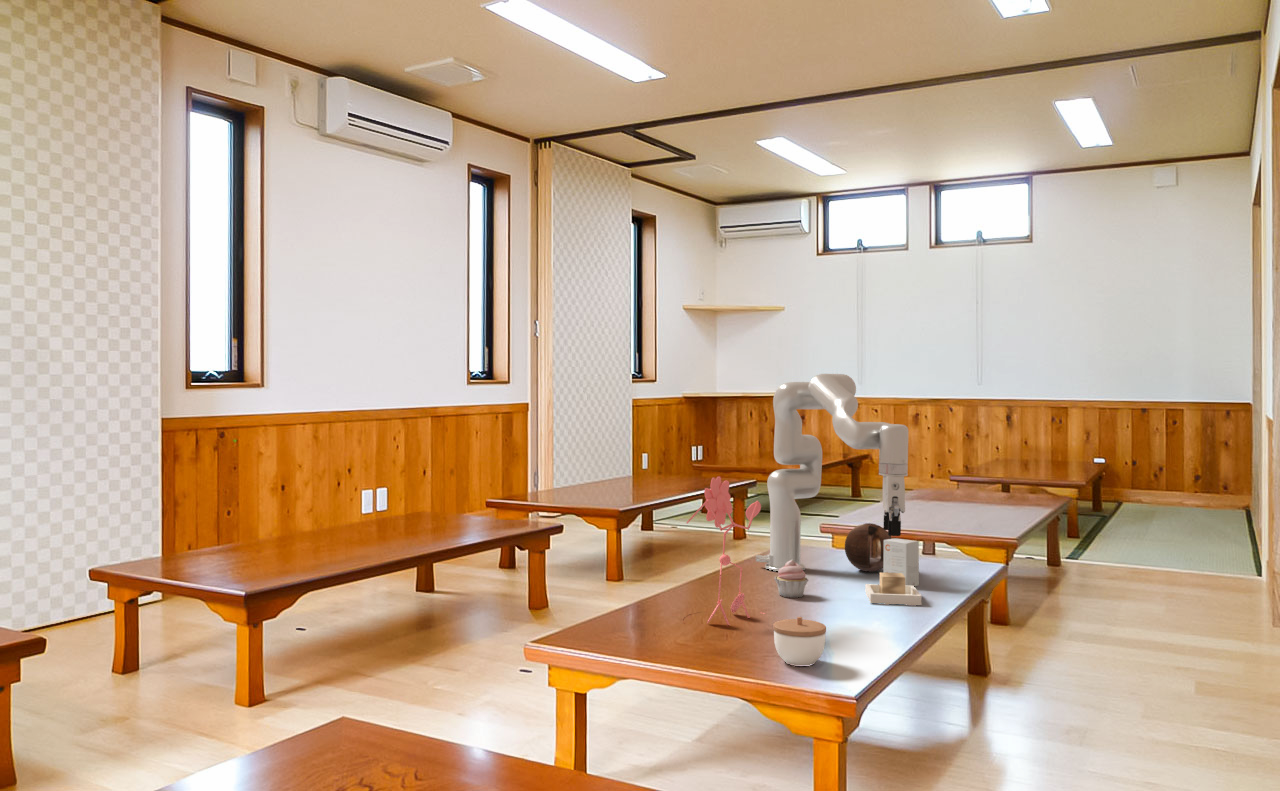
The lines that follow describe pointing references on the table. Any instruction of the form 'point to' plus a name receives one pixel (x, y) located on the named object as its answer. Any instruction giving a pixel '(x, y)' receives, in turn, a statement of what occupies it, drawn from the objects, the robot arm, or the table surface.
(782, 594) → the cupcake
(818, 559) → the table surface
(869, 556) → the wooden sphere
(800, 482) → the robot arm
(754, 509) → the figurine
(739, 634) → the table surface
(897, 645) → the table surface
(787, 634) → the lidded jar
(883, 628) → the table surface
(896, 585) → the cube
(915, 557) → the small box
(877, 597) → the tray
